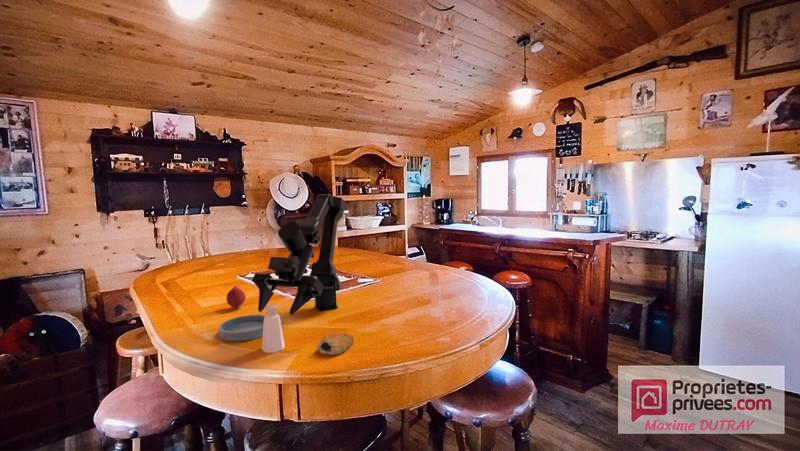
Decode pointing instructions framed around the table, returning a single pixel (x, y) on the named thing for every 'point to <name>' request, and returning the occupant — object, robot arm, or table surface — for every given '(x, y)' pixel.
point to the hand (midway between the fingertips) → (274, 312)
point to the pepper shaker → (272, 331)
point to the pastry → (335, 344)
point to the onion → (235, 297)
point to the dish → (242, 328)
